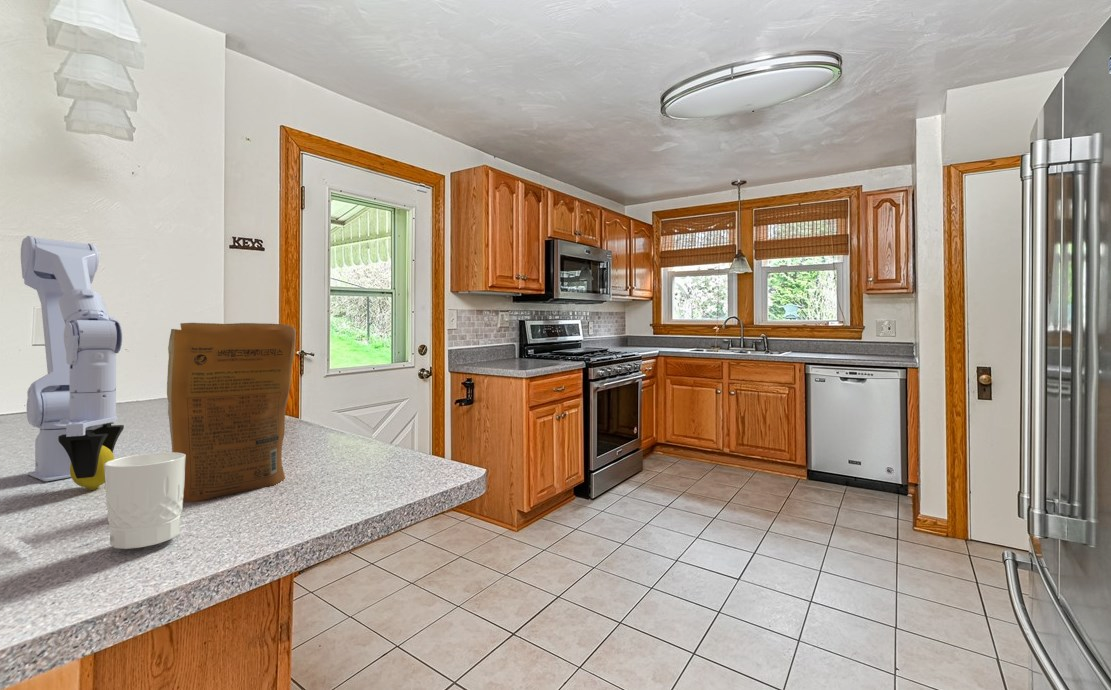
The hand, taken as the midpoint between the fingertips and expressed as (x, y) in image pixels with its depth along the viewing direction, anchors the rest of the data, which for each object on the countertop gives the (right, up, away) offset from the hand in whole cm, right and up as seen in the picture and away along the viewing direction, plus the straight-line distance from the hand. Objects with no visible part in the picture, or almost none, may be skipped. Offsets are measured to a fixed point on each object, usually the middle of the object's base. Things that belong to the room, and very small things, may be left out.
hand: (93, 473), depth 83 cm
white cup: (+26, -3, -21) cm, 34 cm away
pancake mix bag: (+24, -3, -1) cm, 25 cm away
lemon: (0, -3, 0) cm, 3 cm away
